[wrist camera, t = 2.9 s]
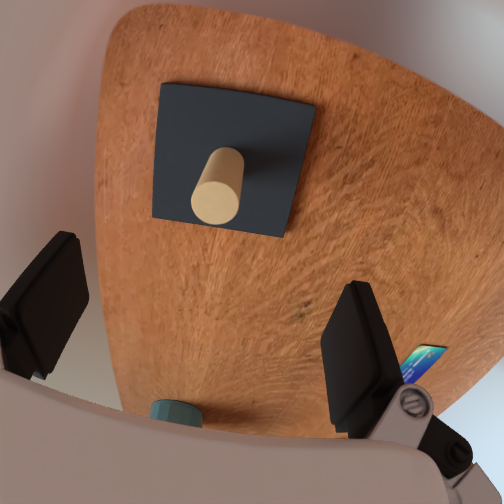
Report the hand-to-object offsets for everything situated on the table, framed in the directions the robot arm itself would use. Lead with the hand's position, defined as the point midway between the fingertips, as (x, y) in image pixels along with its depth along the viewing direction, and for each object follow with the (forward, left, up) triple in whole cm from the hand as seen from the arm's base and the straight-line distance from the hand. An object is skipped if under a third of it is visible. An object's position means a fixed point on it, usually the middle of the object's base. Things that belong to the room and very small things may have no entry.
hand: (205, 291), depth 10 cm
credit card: (+27, -21, -13) cm, 36 cm away
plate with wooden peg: (0, 0, -13) cm, 13 cm away
